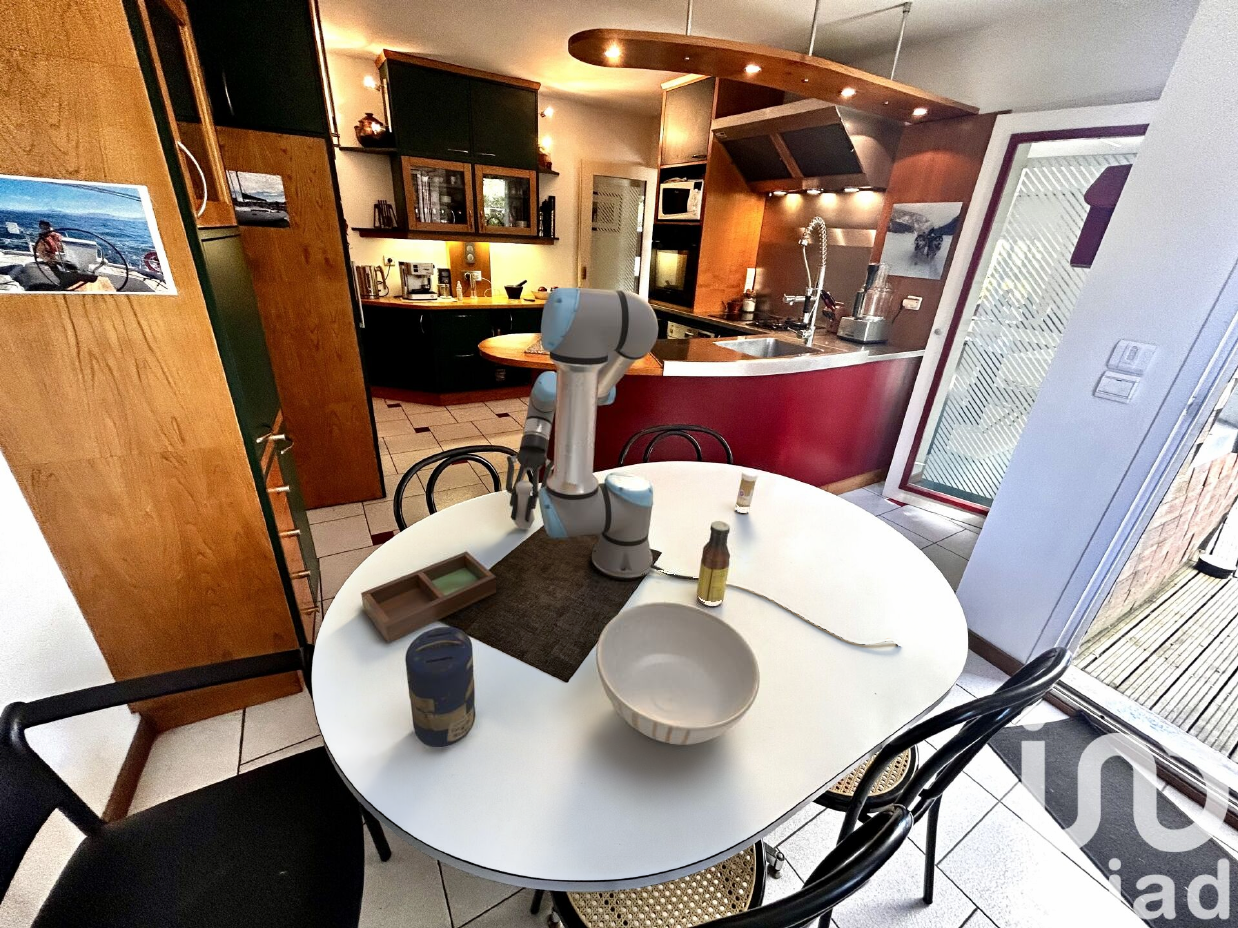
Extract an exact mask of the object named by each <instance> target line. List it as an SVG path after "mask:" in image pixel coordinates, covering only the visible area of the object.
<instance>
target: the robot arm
mask: <svg viewBox="0 0 1238 928" xmlns="http://www.w3.org/2000/svg"><path fill="white" fill-rule="evenodd" d="M540 333H541V336H540V343H541V346H542V348H543V350H544V351H547V352H549V360H550V361H551V362H552V363H553V364H554V365H555V367H556V372H555V371H552V370H551V371H544V372H542V373H541V374H540V375H539V376H538V377H537V379H536V380H535V383H534V385H533V387H532V389H531V393H530V396H529V399H528V400H529V401H528V406H527V410H526V411H527V412H526V417H525V422H524V426H523V430H522V436H521V441H520V444H519V450H518V451H517V453H516V454H515V455H513V456H511V455H508V456H506V461H507V472H506V478H505V479H506V480H505V490H506V492H507V493H508V494H511V496H510V499H509V506H510V507H511V509H512V510H511V514H510V519H511V520H512V521H513V520H516V513H517V499H518V492H517V491H516V484H517V483H518V482H520V481H524V478H525V476H526V474H527V472H528V471H532V483H531V484H532V491H531V494H530V497H529V498H528V503H527V509H526V514H525V520H526V522H529V520H530V515H531V509H533V510H536V508H537V503H538V504H539V509H540V515H541V521H542V524H543V527H544V529H545V533H546V534H547V536H548V537H550V538H551V539H561V538H562V539H563V538H565V539H569V538H574V537H582V536H589V535H591V536H592V535H597V534H599V536H598V537H597V539H596V542H595V545H594V547H593V548H592V552H591V565H592V566H593V568H594V570H595V571H596V572H598V573H599V574H600V575H602V576H604V577H606V578H609V579H612V580H616V581H634V580H638V579H642V578H643V577H645V576H646V575H648V574H649V573H650V572H651V570H652V569H653V570H655V569H656V570H655V571H658V570H663V571H664V570H665V569H664V568H662V567H660V566H657V565H655V564H653V561H654V559H653V553H652V551H651V545H650V541H649V540H650V539H649V533H650V528H651V519H652V512H653V506H654V487H653V486H652V484H651V483H650V482H649V481H648V480H646V479H645V478H643V477H641V476H639V475H637V474H633V473H630V472H624V471H615V472H611V473H609V474H607V475H606V476H605V478H604V481H603V482H601V483H599V479H598V477H596V476H595V475H594V473H593V472H594V460H595V459H594V457H595V443H596V427H597V411H598V406H601V407H602V406H603V405H605V406H606V405H611V404H612V403H614V402H615V398H616V389H617V388H616V385H617V384H618V383H619V381H621V379H622V378H623V377H624V376H625V374H626V373H627V372H628V371H629V369H630V368H632V366H633V365H634V363H635V362H636V361H639V360H641V359H644V358H645V357H646V356H647V355H648V354H649V353H650V352H651V350H652V349H653V348H654V346H655V344H656V342H657V339H658V334H659V325H658V318H657V314H656V312H655V310H654V309H653V307H652V306H651V305H650V303H649V302H648V301H647V300H646V299H645V298H643V297H642V296H640V295H639V294H638V293H635V292H633V291H629V290H621V289H618V290H615V289H601V288H600V289H599V288H585V287H578V286H575V287H573V286H572V287H557V288H555V289H553V290H551V291H550V293H549V294H548V296H547V298H546V300H545V303H544V306H543V311H542V317H541V323H540ZM554 417H555V418H554ZM554 419H555V420H554ZM553 421H554V423H555V424H554V449H553V450H554V451H553V453H554V454H553V460H550V459H549V458H548V456H547V454H548V450H549V444H550V441H549V440H550V438H551V433H552V427H553ZM517 461H518V463H519V464H520V465H519V470H518V473H517V476H516V477H515V480H514V475H515V465H516V464H517ZM544 465H545V470H544V473H543V477H542V481H541V483H539V476H540V469H541V468H542V467H543V466H544ZM539 484H540V488H539ZM659 572H660V573H662V574H664V575H666V576H667V577H671V578H674V579H679V580H684V581H685V580H686V581H696V582H698V580H699V578H693V577H694V576H689V575H683V574H677V573H673V574H667V573H664V572H661V571H659ZM644 573H645V574H644ZM642 574H643V575H642ZM674 574H675V575H674Z"/></svg>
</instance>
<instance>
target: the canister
mask: <svg viewBox="0 0 1238 928" xmlns="http://www.w3.org/2000/svg"><path fill="white" fill-rule="evenodd" d="M473 648H474V647H473V643H472V640H471V638H470V636H469V635H468V634H467V633H466V632H465V631H464V630H462V629H460V628H458V627H457V628H456V627H453V626H441V627H435V628H432V629H429V630H426V631H424V632H422V633H420V634H419V635H418V636H417V637H416V638H414V639H413V640H412V642H411V643H410V644H409V645H408V648H407V649H406V653H405V658H404V659H405V670H406V678H407V679H406V680H407V687H408V688H407V689H408V697H409V701H410V708H411V709H410V710H411V717H412V727H413V730H414V735H415V736H416V738H417V739H418V741H420V743H422V744H423V745H425V746H428V747H430V748H437V749H440V748H441V749H442V748H448V747H451V746H453V745H455V744H457V743H459V742H461V740H463V739H464V738H465V737H467V735H468V734H469V733H470V731H471V730H472V728H473V726H474V724H475V720H476V716H477V715H476V713H477V712H476V705H475V701H476V700H475V699H476V698H475V697H476V693H475V691H476V690H475V689H476V687H475V675H474V672H475V671H474V652H473Z"/></svg>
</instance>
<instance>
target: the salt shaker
mask: <svg viewBox="0 0 1238 928" xmlns="http://www.w3.org/2000/svg"><path fill="white" fill-rule="evenodd" d="M532 484H533V483H531V481H528V480H523V481H520V482H518V483H517V484H516V491H517V492H518V499H517V513H516V520H512V521H513V523H514V524H515V526H516V527H517V529H519V530H523V531H524V530H528V529H531V527H532V525H533V524H534V522H535V520H536V517H535V512H534V509H531V515H530V520H529V522H526V520H525V514H526V509H527V503H528V498H529V497H530V495H531V493H532Z"/></svg>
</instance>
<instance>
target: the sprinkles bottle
mask: <svg viewBox="0 0 1238 928" xmlns="http://www.w3.org/2000/svg"><path fill="white" fill-rule="evenodd" d="M740 479H741V480H740V484H739V488H738V492H737V496H736V501H735V502H736V503H735V505H736V504H737V505H738V506H739V507H750V508H751V504H752V500H753V496H754V491H755V486H756V483H757V480H758V472H756V471H754V470H752V469H743V470H742V472H741V478H740Z"/></svg>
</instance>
